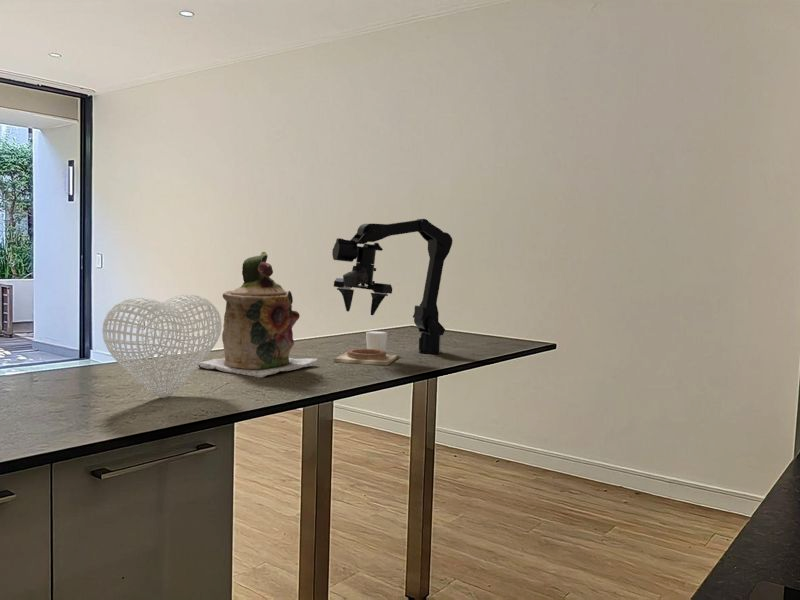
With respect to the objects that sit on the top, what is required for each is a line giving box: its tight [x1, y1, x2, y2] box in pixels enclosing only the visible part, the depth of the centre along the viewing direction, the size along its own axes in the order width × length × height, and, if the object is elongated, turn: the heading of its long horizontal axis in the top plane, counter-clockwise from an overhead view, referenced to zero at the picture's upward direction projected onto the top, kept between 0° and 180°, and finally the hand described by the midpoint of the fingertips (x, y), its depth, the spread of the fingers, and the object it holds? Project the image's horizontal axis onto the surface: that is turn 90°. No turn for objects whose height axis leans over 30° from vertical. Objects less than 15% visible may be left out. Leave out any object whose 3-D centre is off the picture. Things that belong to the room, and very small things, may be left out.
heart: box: [102, 294, 222, 399], centre depth 155 cm, size 28×16×22 cm, turn 153°
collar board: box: [333, 348, 398, 366], centre depth 216 cm, size 16×15×2 cm
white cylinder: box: [365, 330, 388, 352], centre depth 228 cm, size 7×7×7 cm
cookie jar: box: [197, 251, 318, 378], centre depth 196 cm, size 25×25×32 cm
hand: (359, 313), depth 223 cm, fingers open, 9 cm apart
